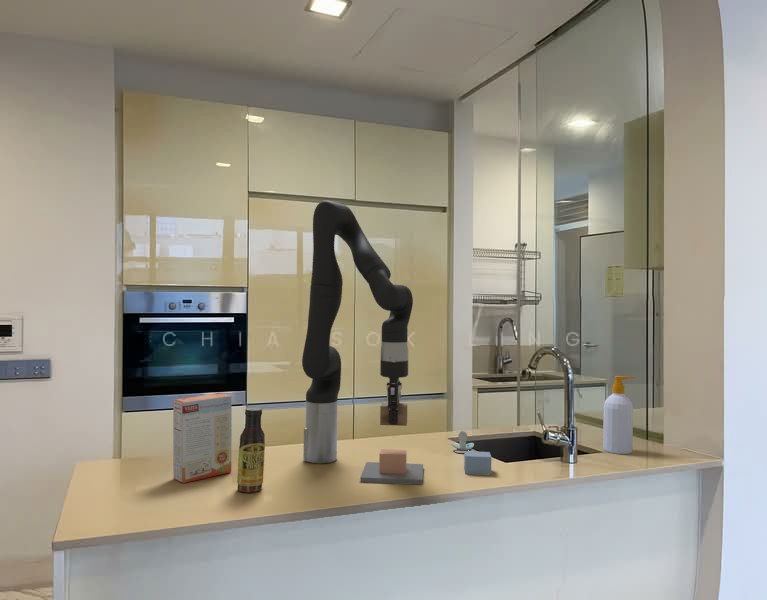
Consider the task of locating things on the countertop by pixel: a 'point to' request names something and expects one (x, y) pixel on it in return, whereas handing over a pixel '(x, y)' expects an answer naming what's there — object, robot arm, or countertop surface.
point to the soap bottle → (618, 420)
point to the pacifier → (463, 443)
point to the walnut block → (401, 414)
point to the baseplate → (391, 477)
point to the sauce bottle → (251, 453)
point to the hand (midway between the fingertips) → (393, 421)
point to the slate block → (477, 462)
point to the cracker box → (202, 437)
